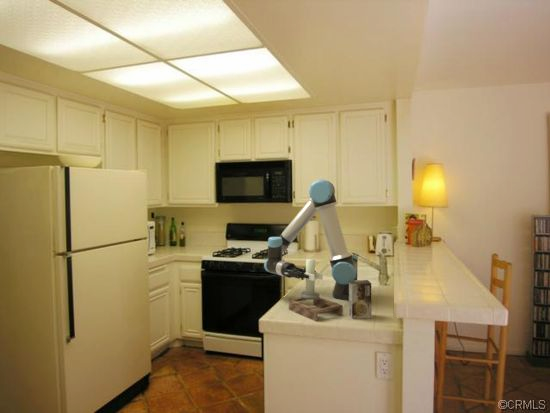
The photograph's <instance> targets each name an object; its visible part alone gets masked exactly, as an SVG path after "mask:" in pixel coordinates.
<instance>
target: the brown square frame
mask: <svg viewBox="0 0 550 413" xmlns="http://www.w3.org/2000/svg"><path fill="white" fill-rule="evenodd" d="M302 301H303V302H304V301H307V299H303V298H301V297H300V298H295V299H289V300H288V311H292V312H293V313H296V314H298V315H300V316H303V317H304V318H307V319H309V320H312V321H314V322H317V321H318V313H323V312H328V311H329V312H331V313H334V314H337V315H339V316H343V314H344V306H343V305H342V304H340V303H337V302H335V301H331V300H329V299H325V298H323V297H319V299H315V300H312V302H313V303H312V304H313V305H307V304H303V303H301V302H302Z"/></svg>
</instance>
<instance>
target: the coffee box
mask: <svg viewBox="0 0 550 413" xmlns="http://www.w3.org/2000/svg"><path fill="white" fill-rule="evenodd" d="M348 316H350V318H351V319H352V320H357V319H360V320H361V319H363V320H364V319H372V318H373V317H372V283H371V282H370V281H369V280H368V279H364V280H362V279H360V280H358V279H357V280H349V300H348Z"/></svg>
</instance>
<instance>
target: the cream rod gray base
mask: <svg viewBox="0 0 550 413" xmlns="http://www.w3.org/2000/svg"><path fill="white" fill-rule="evenodd" d="M305 268H306V273H309V274H313V275H315V271H316V260H315V259H314V258H313V259H312V258H307V259H305ZM315 282H316V280H315V281H312V280H308V279H305V291H302V292H301V293H300V298H303V299H307V300H309V301H313V300H315V299H319V297H320V293H319V292H315V290H316V289H315ZM320 298H321V297H320ZM307 300H306V301H307Z"/></svg>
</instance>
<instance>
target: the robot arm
mask: <svg viewBox="0 0 550 413" xmlns="http://www.w3.org/2000/svg"><path fill="white" fill-rule="evenodd" d="M308 194H309V195H308V196H309V197H308V200H307V202H306V203H305V204H304V206H302V208H301V209H300V210H299V211H298V212H297V214H296V215H295V217H294V218H293V219H292V220H291V222H289V223H288V225H287V226H286V228H285V229H284V230H283V231H282V233H281V234H280V235H279V236H270V237H268V239H267V259H266V260H264V263H263V268H264V269H265V271H266V272H268V273H270V274H274V275H278V276H281V277H282V278H283V277H285V278H288V279H290V278H291V279H292V278H295V279H298V280H299V279H301V281H305V280H306V279H308V280H312V281H315V282H316V279H317V280H323V273H321V272H318V271H317V270H315V275H313V274H309V273H306V267H298V266H297V265H296V264H295V263H293V262H288V261H284V260H283V252H284V251H285V252H286V251H287V249H289V247H290V245H291V244H292V242H293V241H294V240H296V238H297V237H298V235H299V234H300V233H301V231H302V230H304V228H305V227H306V226H307V224H308V223H309V222H310V221H311V219H312V218H313V217H314V216H315V215H316V214H317V212H318V213H319V217H320V221H321V225H322V228H323V231H324V235H325V238H326V241H327V246H328V249H329V252H330V258H329V263H330V267H331V276H332V279H333V281H335V284H334V287H333V289H332V297H333V298H335V299H338V300H346V301H347V300H348V301H349V280H358V261H359V260H358V256H357V254H352V253H351V252H349V251H348V247H347V244H346V242H345V237H344V233H343V231H342V227H341V224H340V220H339V216H338V213H337V210H336V205H337V199H336V195H335V194H336V190H335V185H334V184H333V183H332V182H331V181H329V180H326V179H323V178H322V179H317V180H315V181H314V182H313V183H311V184H310V186H309V189H308Z"/></svg>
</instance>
